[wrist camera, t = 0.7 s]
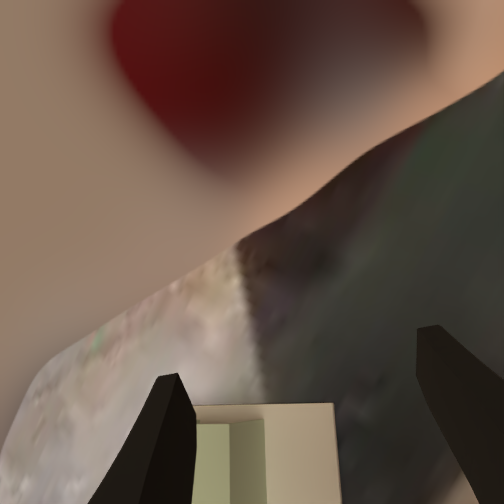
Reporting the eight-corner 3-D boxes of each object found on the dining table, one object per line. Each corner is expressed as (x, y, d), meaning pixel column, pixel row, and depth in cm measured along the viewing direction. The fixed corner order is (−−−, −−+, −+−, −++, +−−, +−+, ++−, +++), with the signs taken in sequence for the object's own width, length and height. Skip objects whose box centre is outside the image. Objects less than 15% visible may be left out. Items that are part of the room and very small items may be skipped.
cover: (267, 514, 28) (230, 539, 23) (193, 507, 30) (146, 529, 25) (264, 419, 30) (229, 424, 25) (195, 419, 32) (151, 424, 27)
